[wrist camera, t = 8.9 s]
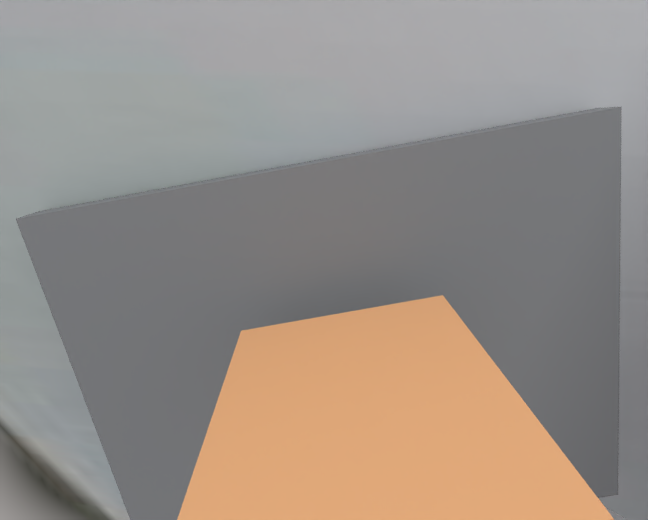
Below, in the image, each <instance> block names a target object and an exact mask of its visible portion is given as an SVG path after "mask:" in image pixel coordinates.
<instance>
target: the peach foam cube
mask: <svg viewBox="0 0 648 520" xmlns="http://www.w3.org/2000/svg"><path fill="white" fill-rule="evenodd" d="M177 520H614V518H613V517H612V516H611V514H610V513H609V512H608V511H607V509H606V508H605V507H604V505H603V504H602V503H601V501H600V500H599V499H598V497H597V496H596V495H595V494H594V492H593V491H592V490H591V488H590V487H589V486H588V484H587V483H586V482H585V480H584V479H583V478H582V477H581V475H580V474H579V473H578V471H577V470H576V469H575V467H574V466H573V465H572V463H571V462H570V461H569V459H568V458H567V457H566V456H565V454H564V453H563V452H562V450H561V449H560V448H559V446H558V445H557V444H556V442H555V441H554V440H553V439H552V437H551V436H550V435H549V433H548V432H547V431H546V429H545V428H544V427H543V425H542V424H541V423H540V422H539V420H538V419H537V418H536V416H535V415H534V414H533V412H532V411H531V410H530V408H529V407H528V406H527V405H526V403H525V402H524V401H523V399H522V398H521V397H520V395H519V394H518V393H517V391H516V390H515V389H514V388H513V386H512V385H511V384H510V382H509V381H508V380H507V378H506V377H505V376H504V374H503V373H502V372H501V371H500V369H499V368H498V367H497V365H496V364H495V363H494V361H493V360H492V359H491V357H490V356H489V355H488V354H487V352H486V351H485V350H484V348H483V347H482V346H481V344H480V343H479V342H478V340H477V339H476V338H475V336H474V335H473V334H472V333H471V331H470V330H469V329H468V327H467V326H466V325H465V323H464V322H463V321H462V319H461V318H460V317H459V316H458V314H457V313H456V312H455V310H454V309H453V308H452V306H451V305H450V304H449V302H448V301H447V300H446V299H445V297H444V296H443V295H441V296H435V297H430V298H424V299H418V300H413V301H407V302H401V303H396V304H390V305H384V306H378V307H373V308H367V309H361V310H356V311H350V312H344V313H339V314H333V315H327V316H322V317H316V318H310V319H305V320H299V321H293V322H288V323H282V324H276V325H271V326H265V327H259V328H254V329H248V330H242V331H241V332H240V335H239V338H238V341H237V344H236V347H235V350H234V353H233V356H232V359H231V362H230V365H229V368H228V371H227V374H226V377H225V380H224V383H223V386H222V389H221V392H220V394H219V397H218V400H217V403H216V406H215V409H214V412H213V415H212V418H211V421H210V424H209V427H208V430H207V433H206V436H205V439H204V442H203V445H202V448H201V451H200V454H199V457H198V459H197V462H196V465H195V468H194V471H193V474H192V477H191V480H190V483H189V486H188V489H187V492H186V495H185V498H184V501H183V504H182V507H181V510H180V513H179V516H178V519H177Z"/></svg>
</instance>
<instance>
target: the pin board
mask: <svg viewBox="0 0 648 520" xmlns="http://www.w3.org/2000/svg"><path fill="white" fill-rule="evenodd" d="M620 203H621V107H611V108H595V109H590V110H584V111H579V112H574V113H568V114H563V115H557V116H552V117H547V118H541V119H536V120H530V121H525V122H520V123H514V124H509V125H503V126H498V127H493V128H487V129H482V130H476V131H471V132H466V133H460V134H455V135H449V136H444V137H439V138H433V139H428V140H422V141H417V142H412V143H406V144H401V145H395V146H390V147H385V148H379V149H374V150H368V151H363V152H357V153H352V154H347V155H341V156H336V157H330V158H325V159H320V160H314V161H309V162H303V163H298V164H293V165H287V166H282V167H276V168H271V169H266V170H260V171H255V172H249V173H244V174H239V175H233V176H228V177H222V178H217V179H212V180H206V181H201V182H195V183H190V184H185V185H179V186H174V187H168V188H163V189H158V190H152V191H147V192H141V193H136V194H131V195H125V196H120V197H114V198H109V199H103V200H98V201H93V202H87V203H82V204H76V205H71V206H66V207H60V208H55V209H49V210H44V211H39V212H36V213H33V214H29V215H26V216H23V217H20V218H17V219H16V221H17V223H18V226H19V229H20V231H21V234H22V236H23V239H24V242H25V244H26V247H27V250H28V252H29V255H30V257H31V260H32V263H33V265H34V268H35V271H36V273H37V276H38V278H39V281H40V284H41V286H42V289H43V292H44V294H45V297H46V299H47V302H48V305H49V307H50V310H51V313H52V315H53V318H54V320H55V323H56V326H57V328H58V331H59V334H60V336H61V339H62V341H63V344H64V347H65V349H66V352H67V354H68V357H69V360H70V362H71V365H72V368H73V370H74V373H75V375H76V378H77V381H78V383H79V386H80V389H81V391H82V394H83V396H84V399H85V402H86V404H87V407H88V410H89V412H90V415H91V417H92V420H93V423H94V425H95V428H96V431H97V433H98V436H99V438H100V441H101V444H102V446H103V449H104V452H105V454H106V457H107V459H108V462H109V465H110V467H111V470H112V473H113V475H114V478H115V480H116V483H117V486H118V488H119V491H120V494H121V496H122V499H123V501H124V504H125V507H126V509H127V512H128V515H129V517H130V520H177V519H178V516H179V513H180V510H181V507H182V504H183V501H184V498H185V495H186V492H187V489H188V486H189V483H190V480H191V477H192V474H193V471H194V468H195V465H196V462H197V459H198V457H199V454H200V451H201V448H202V445H203V442H204V439H205V436H206V433H207V430H208V427H209V424H210V421H211V418H212V415H213V412H214V409H215V406H216V403H217V400H218V397H219V394H220V392H221V389H222V386H223V383H224V380H225V377H226V374H227V371H228V368H229V365H230V362H231V359H232V356H233V353H234V350H235V347H236V344H237V341H238V338H239V335H240V332H241V331H242V330H248V329H254V328H259V327H265V326H271V325H276V324H282V323H288V322H293V321H299V320H305V319H310V318H316V317H322V316H327V315H333V314H339V313H344V312H350V311H356V310H361V309H367V308H373V307H378V306H384V305H390V304H396V303H401V302H407V301H413V300H418V299H424V298H430V297H435V296H441V295H443V296H444V297H445V299H446V300H447V301H448V302H449V304H450V305H451V306H452V308H453V309H454V310H455V312H456V313H457V314H458V316H459V317H460V318H461V319H462V321H463V322H464V323H465V325H466V326H467V327H468V329H469V330H470V331H471V333H472V334H473V335H474V336H475V338H476V339H477V340H478V342H479V343H480V344H481V346H482V347H483V348H484V350H485V351H486V352H487V354H488V355H489V356H490V357H491V359H492V360H493V361H494V363H495V364H496V365H497V367H498V368H499V369H500V371H501V372H502V373H503V374H504V376H505V377H506V378H507V380H508V381H509V382H510V384H511V385H512V386H513V388H514V389H515V390H516V391H517V393H518V394H519V395H520V397H521V398H522V399H523V401H524V402H525V403H526V405H527V406H528V407H529V408H530V410H531V411H532V412H533V414H534V415H535V416H536V418H537V419H538V420H539V422H540V423H541V424H542V425H543V427H544V428H545V429H546V431H547V432H548V433H549V435H550V436H551V437H552V439H553V440H554V441H555V442H556V444H557V445H558V446H559V448H560V449H561V450H562V452H563V453H564V454H565V456H566V457H567V458H568V459H569V461H570V462H571V463H572V465H573V466H574V467H575V469H576V470H577V471H578V473H579V474H580V475H581V477H582V478H583V479H584V480H585V482H586V483H587V484H588V486H589V487H590V488H591V490H592V491H593V492H594V494H595V495H596V496H597V497H598V498H599V497H605V496H611V495H618V423H619V313H620Z"/></svg>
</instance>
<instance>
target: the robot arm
mask: <svg viewBox="0 0 648 520" xmlns="http://www.w3.org/2000/svg"><path fill="white" fill-rule="evenodd" d="M606 509H607V508H606ZM607 511H608V512H609V513H610V514H611V516H612V517H613V518H614V520H627V519H625V518H624V517H623V516H621V515H620V514H618V513H616V512H614V511H612V510H610V509H607Z"/></svg>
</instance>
